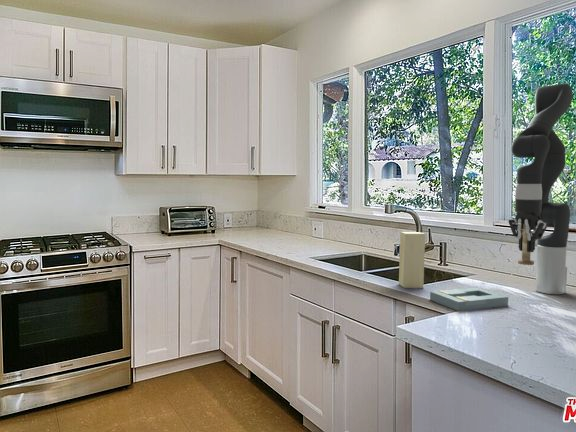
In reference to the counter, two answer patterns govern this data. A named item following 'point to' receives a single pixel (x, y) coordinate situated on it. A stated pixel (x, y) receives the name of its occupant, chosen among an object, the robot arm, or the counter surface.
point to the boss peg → (525, 250)
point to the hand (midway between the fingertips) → (526, 251)
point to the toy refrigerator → (411, 259)
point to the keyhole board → (468, 298)
